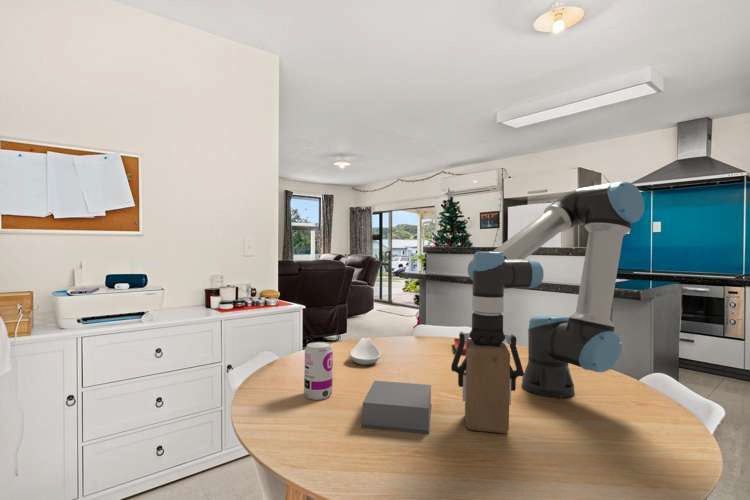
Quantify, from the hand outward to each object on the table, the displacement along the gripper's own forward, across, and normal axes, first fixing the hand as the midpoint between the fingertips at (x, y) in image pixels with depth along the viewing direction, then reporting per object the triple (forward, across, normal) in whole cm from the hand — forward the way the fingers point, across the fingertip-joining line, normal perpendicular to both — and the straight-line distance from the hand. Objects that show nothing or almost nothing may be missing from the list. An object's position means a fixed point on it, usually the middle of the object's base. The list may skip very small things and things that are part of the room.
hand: (486, 401), depth 97 cm
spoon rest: (+6, +41, -50) cm, 65 cm away
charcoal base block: (+6, +22, 0) cm, 23 cm away
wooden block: (+6, 0, 0) cm, 6 cm away
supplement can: (+6, +47, -9) cm, 48 cm away
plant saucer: (+6, -3, -73) cm, 73 cm away
